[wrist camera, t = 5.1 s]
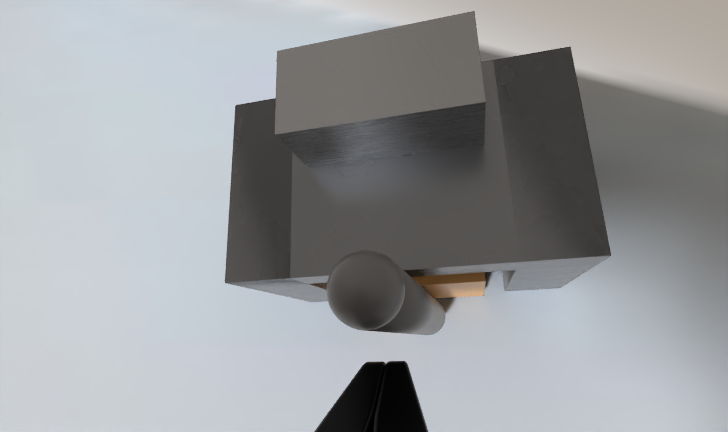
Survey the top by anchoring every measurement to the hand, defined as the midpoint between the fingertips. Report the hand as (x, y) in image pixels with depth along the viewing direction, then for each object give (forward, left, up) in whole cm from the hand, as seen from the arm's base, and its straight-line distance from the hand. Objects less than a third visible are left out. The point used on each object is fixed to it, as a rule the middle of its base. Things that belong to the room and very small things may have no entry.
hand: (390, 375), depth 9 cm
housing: (+4, -3, -9) cm, 10 cm away
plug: (+4, -3, -9) cm, 10 cm away
